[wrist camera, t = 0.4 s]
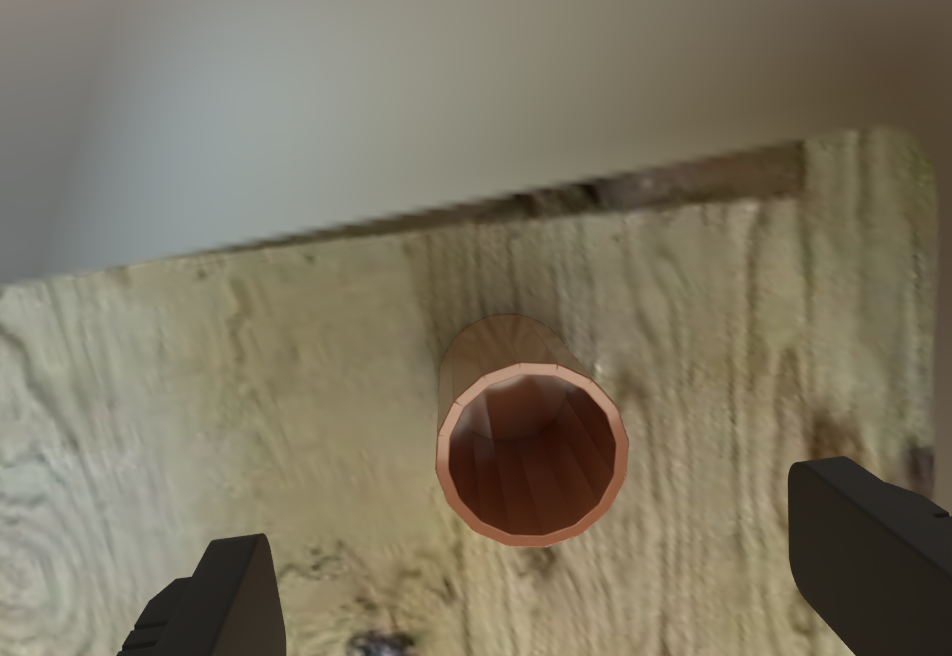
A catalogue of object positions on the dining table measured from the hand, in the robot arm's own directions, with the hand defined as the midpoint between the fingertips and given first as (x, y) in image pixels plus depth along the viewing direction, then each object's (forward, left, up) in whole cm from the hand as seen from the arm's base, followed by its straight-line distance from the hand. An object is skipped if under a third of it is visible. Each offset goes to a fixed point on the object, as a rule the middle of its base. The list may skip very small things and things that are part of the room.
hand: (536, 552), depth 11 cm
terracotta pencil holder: (+2, +1, -21) cm, 21 cm away
